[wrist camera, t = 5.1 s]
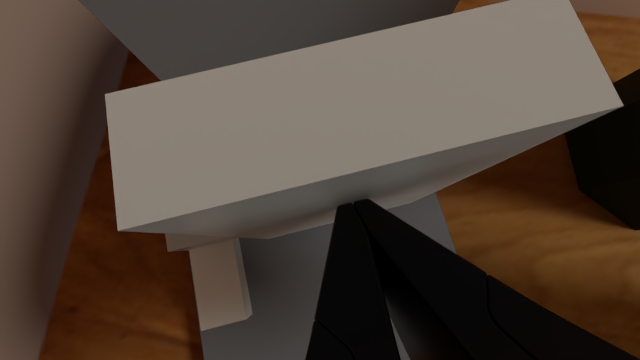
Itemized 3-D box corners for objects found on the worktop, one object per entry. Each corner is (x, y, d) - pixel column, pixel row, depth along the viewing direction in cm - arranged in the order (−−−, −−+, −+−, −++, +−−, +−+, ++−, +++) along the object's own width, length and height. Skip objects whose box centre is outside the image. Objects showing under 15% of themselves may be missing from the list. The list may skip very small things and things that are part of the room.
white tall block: (411, 203, 14) (623, 105, 4) (205, 254, 13) (-120, 289, 4) (398, 163, 14) (562, -12, 4) (199, 213, 14) (-107, 143, 4)
